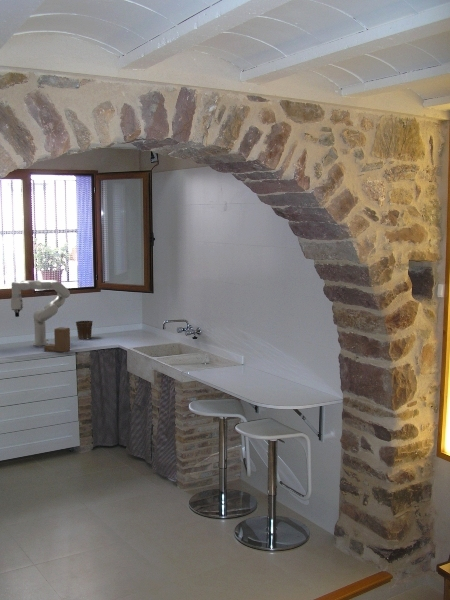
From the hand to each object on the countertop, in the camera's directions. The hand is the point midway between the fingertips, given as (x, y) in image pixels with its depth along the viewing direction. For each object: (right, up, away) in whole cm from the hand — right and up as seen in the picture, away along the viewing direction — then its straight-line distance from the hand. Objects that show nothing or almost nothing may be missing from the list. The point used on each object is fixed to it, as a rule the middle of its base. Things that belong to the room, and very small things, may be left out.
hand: (17, 316), depth 595 cm
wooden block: (+44, -29, -17) cm, 56 cm away
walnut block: (+35, -29, -13) cm, 47 cm away
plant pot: (+50, -22, +47) cm, 72 cm away
